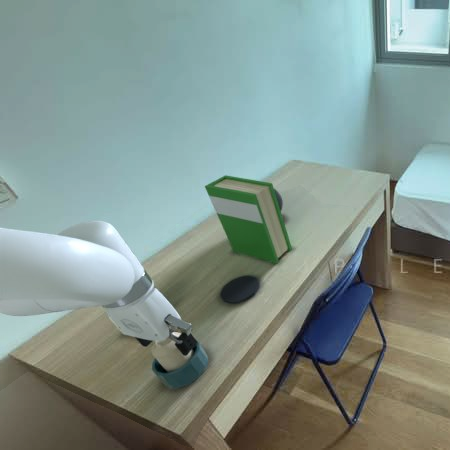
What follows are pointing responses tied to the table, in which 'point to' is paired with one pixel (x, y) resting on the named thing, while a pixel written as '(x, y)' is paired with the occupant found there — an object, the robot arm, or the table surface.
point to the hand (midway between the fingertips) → (170, 344)
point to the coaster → (240, 289)
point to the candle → (170, 354)
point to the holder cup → (183, 369)
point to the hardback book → (250, 217)
